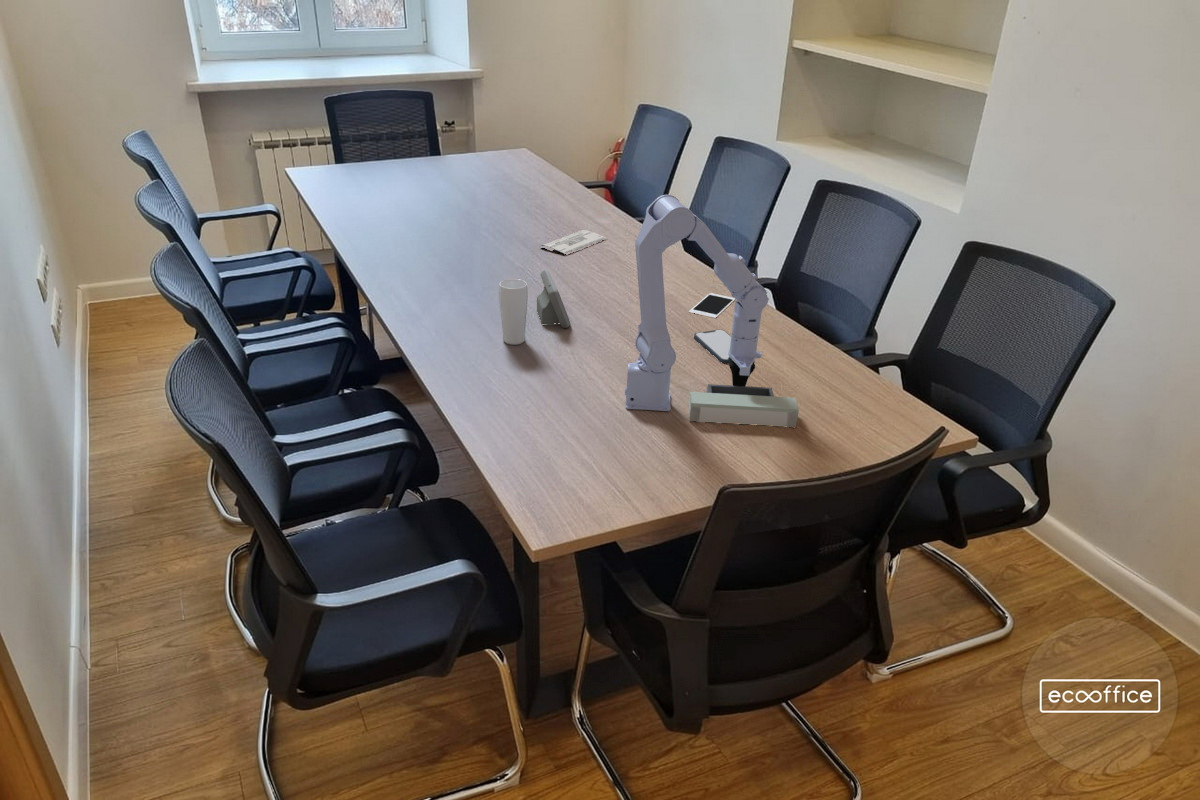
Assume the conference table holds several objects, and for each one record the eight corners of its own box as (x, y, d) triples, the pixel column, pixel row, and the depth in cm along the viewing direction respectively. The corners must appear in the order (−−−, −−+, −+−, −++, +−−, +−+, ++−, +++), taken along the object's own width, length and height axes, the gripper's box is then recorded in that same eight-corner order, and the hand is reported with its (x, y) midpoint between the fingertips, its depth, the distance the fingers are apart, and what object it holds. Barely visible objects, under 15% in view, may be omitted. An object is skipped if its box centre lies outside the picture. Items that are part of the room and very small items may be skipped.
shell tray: (708, 412, 185) (709, 401, 184) (706, 394, 192) (707, 384, 191) (774, 416, 185) (776, 405, 183) (770, 398, 192) (771, 387, 190)
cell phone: (687, 313, 233) (688, 311, 233) (709, 294, 246) (709, 292, 246) (715, 319, 230) (715, 317, 230) (735, 300, 243) (736, 298, 242)
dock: (689, 421, 182) (691, 403, 179) (688, 406, 187) (690, 388, 185) (795, 427, 181) (798, 409, 179) (791, 412, 186) (794, 394, 184)
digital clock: (570, 331, 220) (570, 291, 215) (534, 330, 220) (534, 290, 215) (571, 306, 234) (571, 268, 229) (537, 305, 234) (537, 267, 229)
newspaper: (577, 233, 291) (578, 226, 290) (606, 244, 286) (607, 237, 284) (533, 249, 275) (533, 241, 274) (563, 262, 269) (564, 254, 268)
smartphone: (754, 361, 209) (722, 334, 222) (755, 355, 209) (723, 328, 221) (722, 366, 206) (691, 338, 219) (722, 360, 206) (692, 332, 218)
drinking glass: (516, 333, 218) (515, 276, 210) (533, 341, 213) (533, 284, 206) (494, 340, 213) (492, 282, 206) (512, 349, 209) (511, 291, 202)
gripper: (767, 349, 179) (759, 407, 186) (760, 321, 192) (753, 376, 199) (733, 347, 180) (726, 405, 186) (728, 319, 192) (722, 374, 199)
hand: (738, 390), depth 192 cm, fingers closed
